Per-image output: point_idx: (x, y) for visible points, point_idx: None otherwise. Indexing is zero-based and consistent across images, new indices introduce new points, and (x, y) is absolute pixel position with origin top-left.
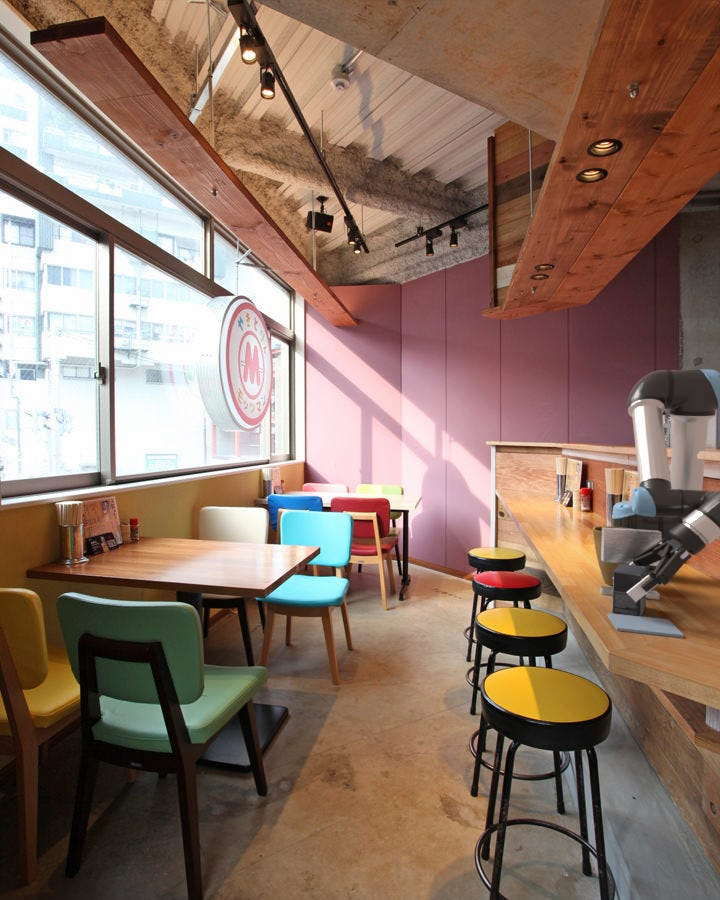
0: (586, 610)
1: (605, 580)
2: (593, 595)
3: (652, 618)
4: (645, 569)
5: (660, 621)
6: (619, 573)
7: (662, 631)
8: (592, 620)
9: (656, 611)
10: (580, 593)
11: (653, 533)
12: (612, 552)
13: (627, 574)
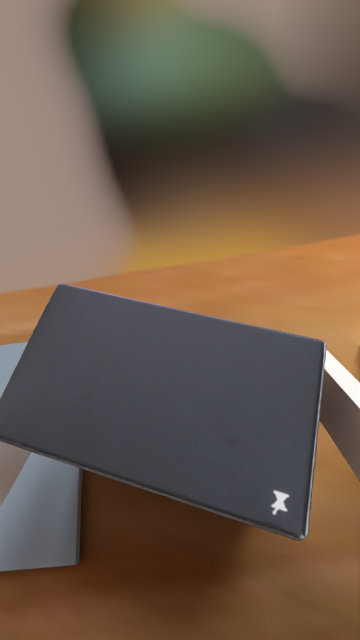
0: (120, 284)
1: None
2: (320, 313)
3: (67, 492)
4: (222, 515)
5: (37, 519)
6: (44, 313)
7: None
8: (27, 296)
9: (216, 542)
10: (319, 273)
11: None
12: None
13: (24, 354)
